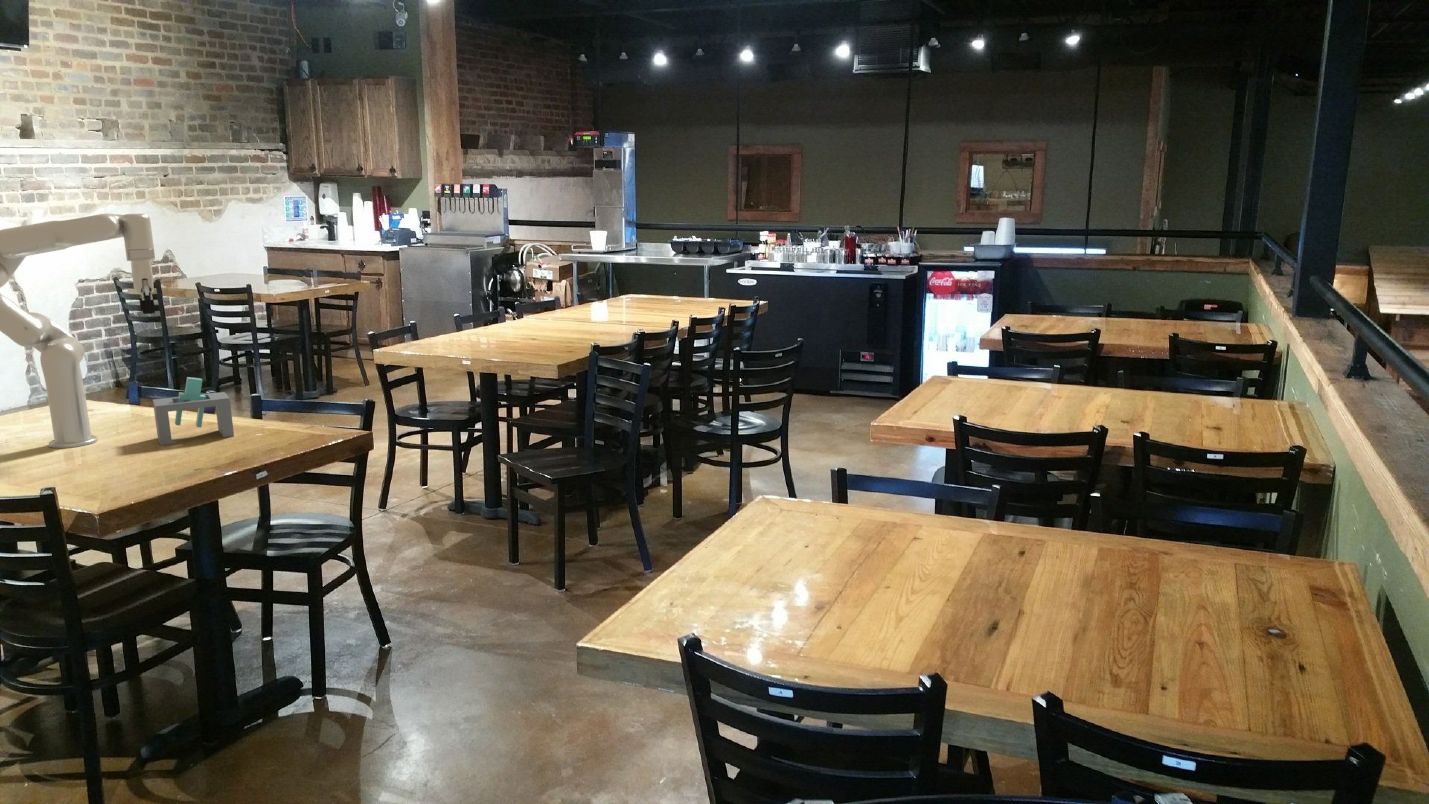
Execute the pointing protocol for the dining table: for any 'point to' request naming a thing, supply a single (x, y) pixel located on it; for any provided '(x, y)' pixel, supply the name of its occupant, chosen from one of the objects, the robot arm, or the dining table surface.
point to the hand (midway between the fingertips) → (148, 312)
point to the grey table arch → (172, 405)
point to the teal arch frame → (191, 394)
